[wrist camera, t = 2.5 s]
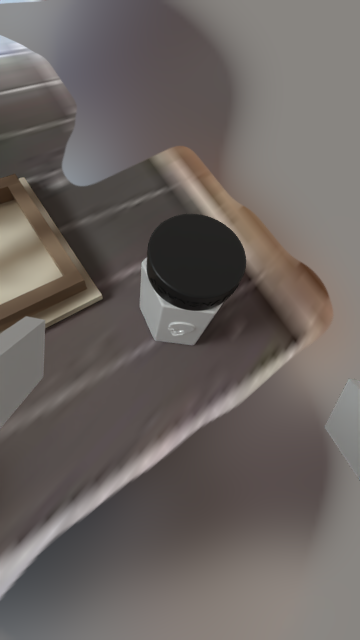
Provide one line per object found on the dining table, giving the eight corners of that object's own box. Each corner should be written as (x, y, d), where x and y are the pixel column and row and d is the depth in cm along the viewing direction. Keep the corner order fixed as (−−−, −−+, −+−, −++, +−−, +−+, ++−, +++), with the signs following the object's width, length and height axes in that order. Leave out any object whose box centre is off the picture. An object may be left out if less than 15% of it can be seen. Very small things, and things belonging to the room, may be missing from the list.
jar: (134, 340, 31) (134, 289, 20) (144, 278, 34) (148, 204, 23) (212, 350, 32) (253, 306, 21) (214, 288, 35) (250, 222, 24)
